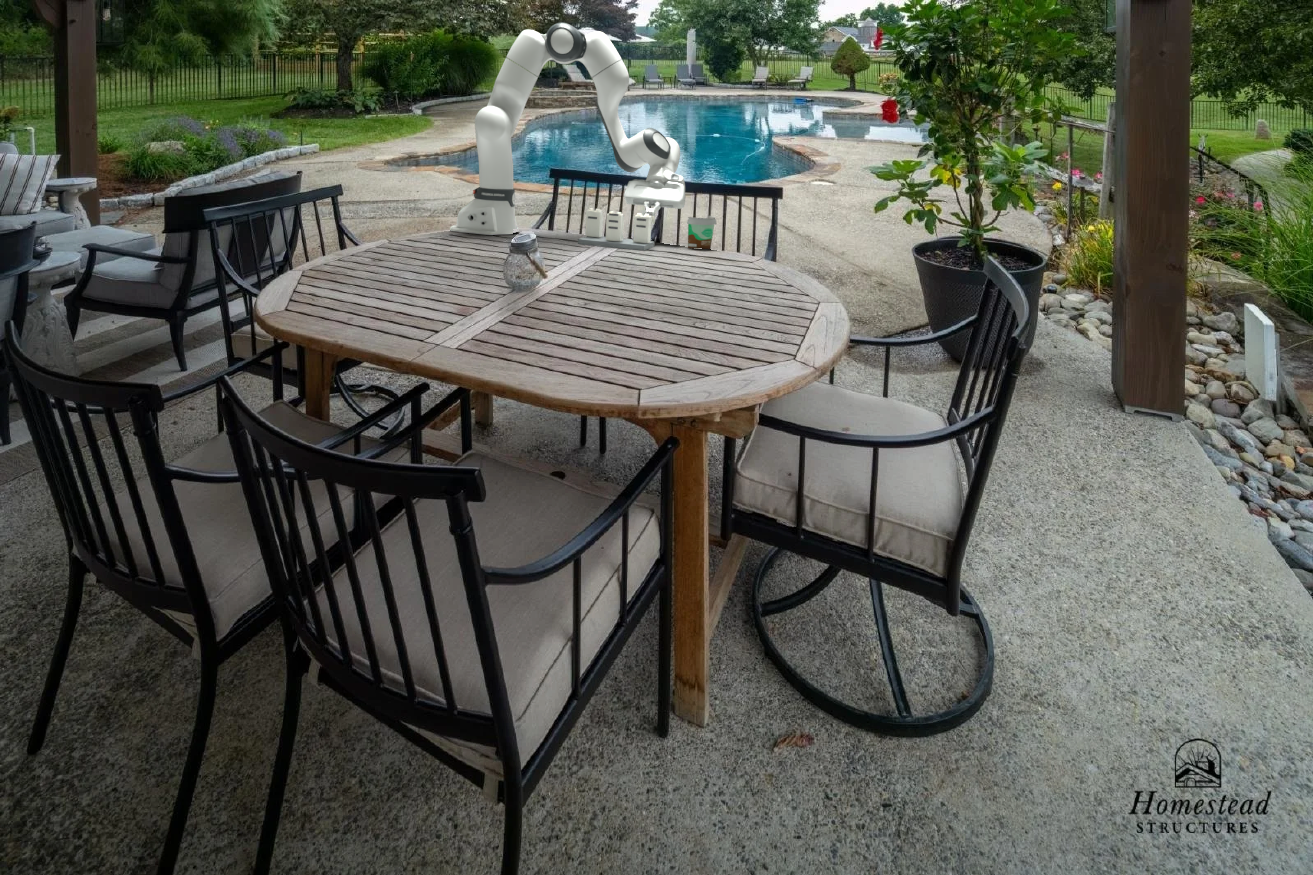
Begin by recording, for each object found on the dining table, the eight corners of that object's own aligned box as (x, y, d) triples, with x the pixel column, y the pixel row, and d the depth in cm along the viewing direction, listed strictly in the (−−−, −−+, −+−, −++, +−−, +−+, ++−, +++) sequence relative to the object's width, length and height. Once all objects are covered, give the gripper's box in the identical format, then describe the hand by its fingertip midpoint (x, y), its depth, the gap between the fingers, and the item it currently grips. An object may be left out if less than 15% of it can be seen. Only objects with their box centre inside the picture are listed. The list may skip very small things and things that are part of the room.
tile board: (577, 243, 239) (578, 239, 239) (590, 239, 250) (590, 235, 250) (644, 250, 235) (644, 245, 234) (654, 246, 245) (654, 241, 245)
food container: (700, 251, 241) (703, 219, 237) (685, 248, 244) (687, 216, 241) (721, 248, 250) (724, 217, 246) (706, 246, 254) (708, 215, 250)
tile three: (605, 240, 238) (606, 211, 235) (608, 238, 241) (609, 210, 238) (619, 241, 237) (620, 213, 234) (623, 240, 240) (624, 212, 237)
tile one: (584, 236, 244) (585, 208, 241) (588, 235, 247) (589, 207, 244) (598, 237, 243) (599, 209, 240) (602, 236, 246) (603, 208, 243)
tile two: (632, 241, 238) (634, 213, 235) (635, 240, 241) (637, 212, 238) (647, 243, 237) (648, 214, 234) (650, 242, 240) (651, 213, 237)
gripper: (627, 172, 249) (617, 204, 243) (687, 177, 244) (678, 210, 239) (631, 185, 254) (620, 217, 249) (689, 190, 250) (680, 223, 245)
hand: (649, 214), depth 244 cm, fingers closed
